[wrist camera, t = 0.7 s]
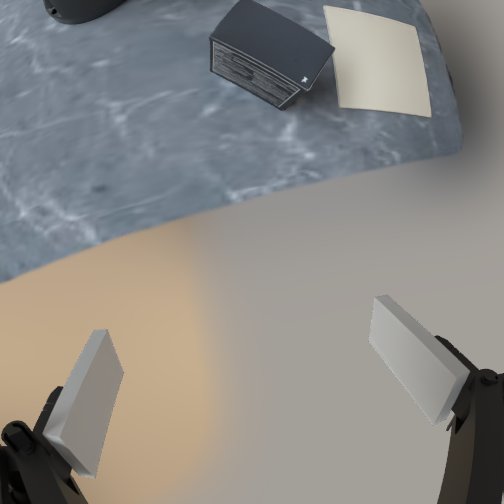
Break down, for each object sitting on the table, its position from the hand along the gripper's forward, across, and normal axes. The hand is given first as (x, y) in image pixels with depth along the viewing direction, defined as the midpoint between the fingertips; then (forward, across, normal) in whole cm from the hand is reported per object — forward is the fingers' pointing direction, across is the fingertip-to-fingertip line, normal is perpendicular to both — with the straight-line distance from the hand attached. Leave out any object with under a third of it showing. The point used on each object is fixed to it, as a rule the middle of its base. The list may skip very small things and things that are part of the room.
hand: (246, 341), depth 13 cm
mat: (+24, +24, +22) cm, 41 cm away
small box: (+25, +6, +19) cm, 32 cm away
